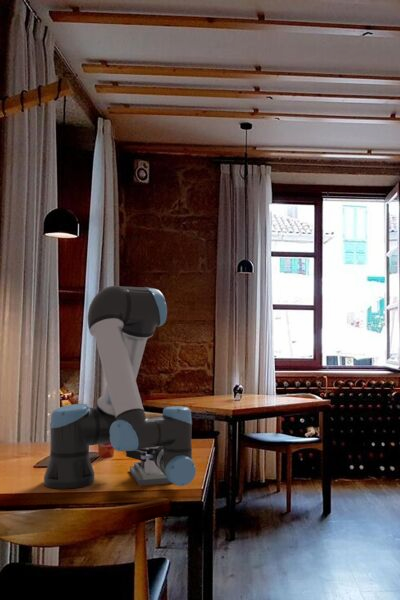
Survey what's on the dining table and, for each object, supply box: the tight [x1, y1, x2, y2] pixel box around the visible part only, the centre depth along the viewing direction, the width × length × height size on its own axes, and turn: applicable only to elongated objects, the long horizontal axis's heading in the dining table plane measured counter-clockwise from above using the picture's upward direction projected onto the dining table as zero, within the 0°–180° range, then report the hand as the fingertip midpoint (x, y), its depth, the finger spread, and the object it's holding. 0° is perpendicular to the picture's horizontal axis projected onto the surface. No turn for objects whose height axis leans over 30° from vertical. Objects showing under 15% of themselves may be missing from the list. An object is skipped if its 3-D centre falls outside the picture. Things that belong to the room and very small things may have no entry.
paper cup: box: [97, 443, 115, 459], centre depth 201 cm, size 8×8×14 cm
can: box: [144, 446, 163, 475], centre depth 166 cm, size 6×6×12 cm
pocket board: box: [129, 461, 173, 487], centre depth 170 cm, size 12×18×3 cm, turn 16°
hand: (154, 445), depth 169 cm, fingers open, 13 cm apart
